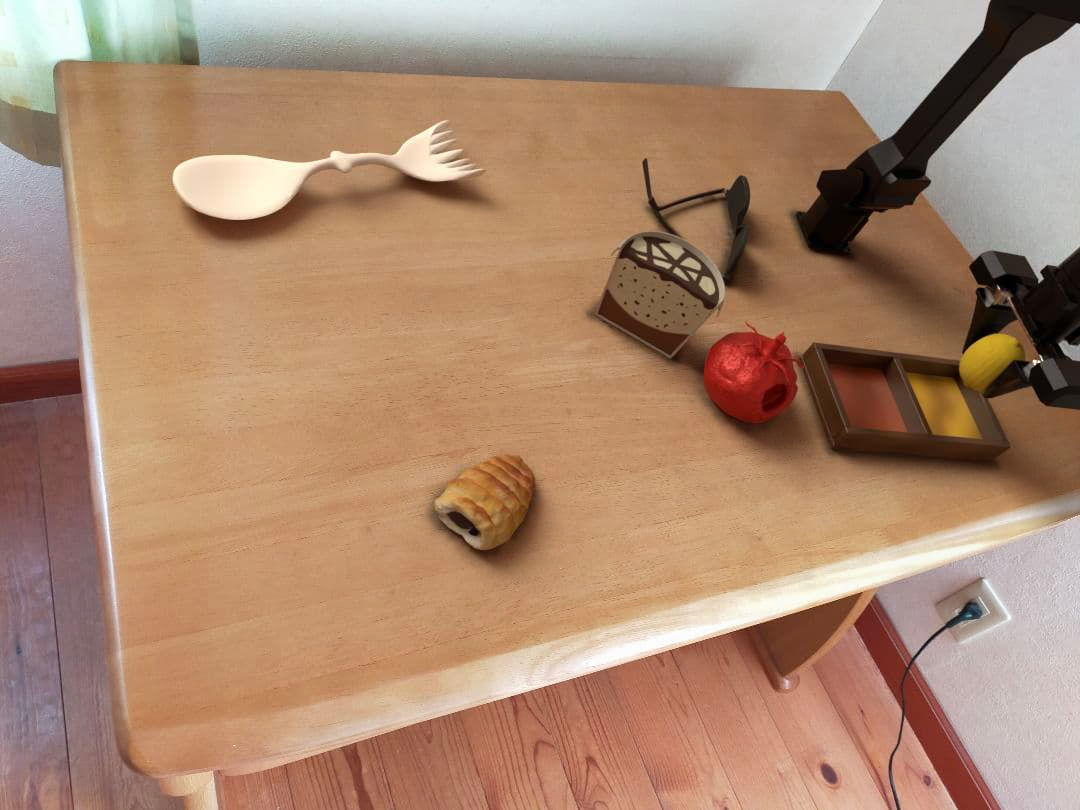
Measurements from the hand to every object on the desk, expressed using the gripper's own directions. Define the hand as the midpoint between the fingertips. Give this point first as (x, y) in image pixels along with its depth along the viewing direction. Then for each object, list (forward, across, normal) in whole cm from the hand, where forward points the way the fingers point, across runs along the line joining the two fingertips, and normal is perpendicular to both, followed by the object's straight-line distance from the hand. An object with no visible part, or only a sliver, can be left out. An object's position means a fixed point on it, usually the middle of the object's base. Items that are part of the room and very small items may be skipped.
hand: (976, 375), depth 96 cm
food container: (+8, +9, +35) cm, 37 cm away
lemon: (+2, 0, 0) cm, 2 cm away
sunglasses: (+8, +26, +26) cm, 38 cm away
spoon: (+8, +22, +68) cm, 72 cm away
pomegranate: (+8, 0, +26) cm, 27 cm away
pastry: (+8, -15, +55) cm, 58 cm away
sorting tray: (+7, 0, +5) cm, 9 cm away
